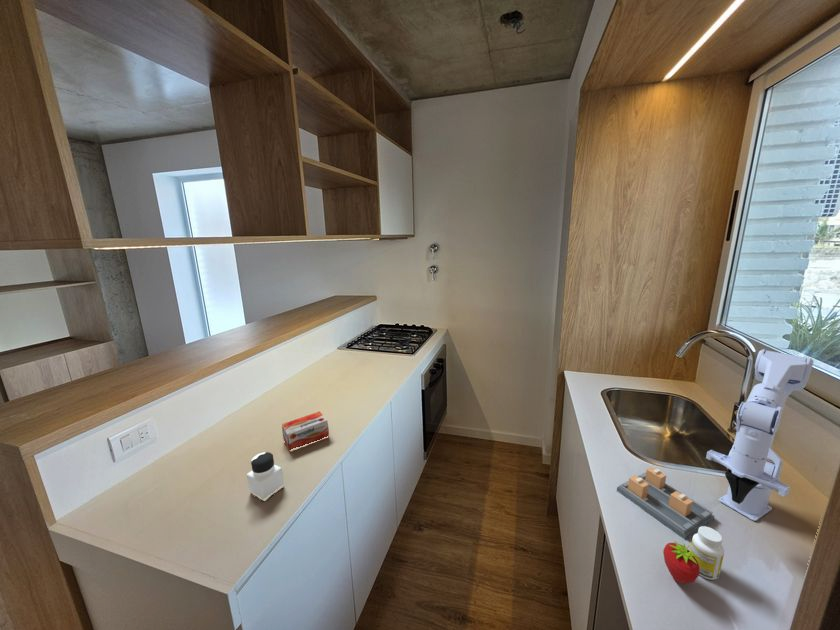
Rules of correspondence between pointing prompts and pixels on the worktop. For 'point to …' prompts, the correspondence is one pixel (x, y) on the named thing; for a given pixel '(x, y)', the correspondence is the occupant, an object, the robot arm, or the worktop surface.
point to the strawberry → (681, 563)
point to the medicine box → (305, 430)
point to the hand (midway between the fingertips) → (737, 500)
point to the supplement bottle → (708, 552)
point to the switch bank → (669, 509)
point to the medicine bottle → (264, 475)
